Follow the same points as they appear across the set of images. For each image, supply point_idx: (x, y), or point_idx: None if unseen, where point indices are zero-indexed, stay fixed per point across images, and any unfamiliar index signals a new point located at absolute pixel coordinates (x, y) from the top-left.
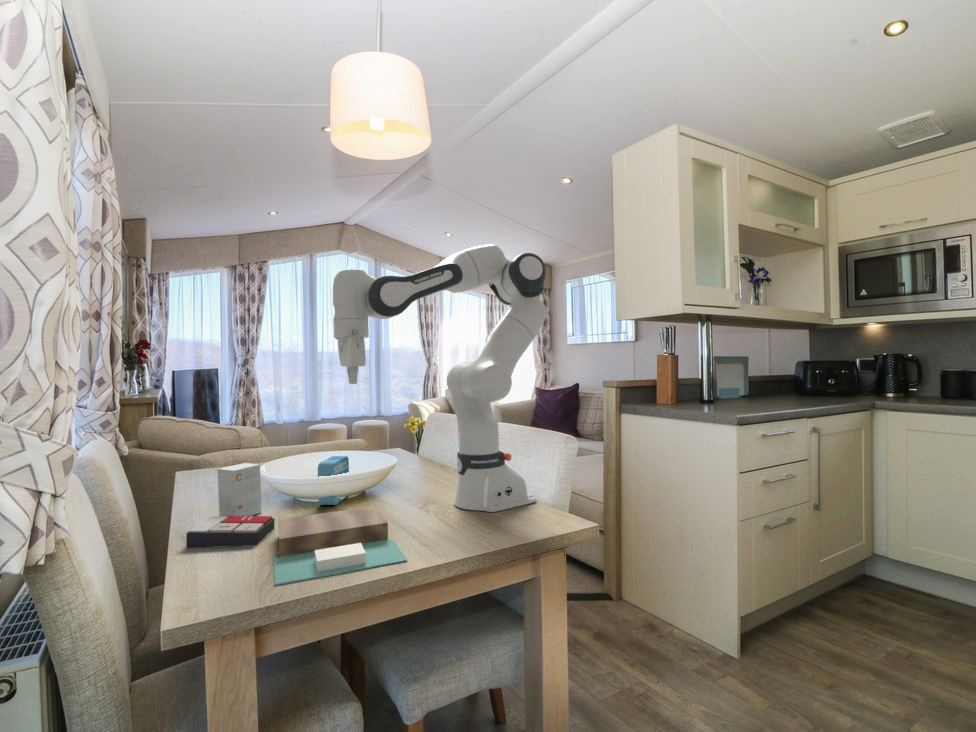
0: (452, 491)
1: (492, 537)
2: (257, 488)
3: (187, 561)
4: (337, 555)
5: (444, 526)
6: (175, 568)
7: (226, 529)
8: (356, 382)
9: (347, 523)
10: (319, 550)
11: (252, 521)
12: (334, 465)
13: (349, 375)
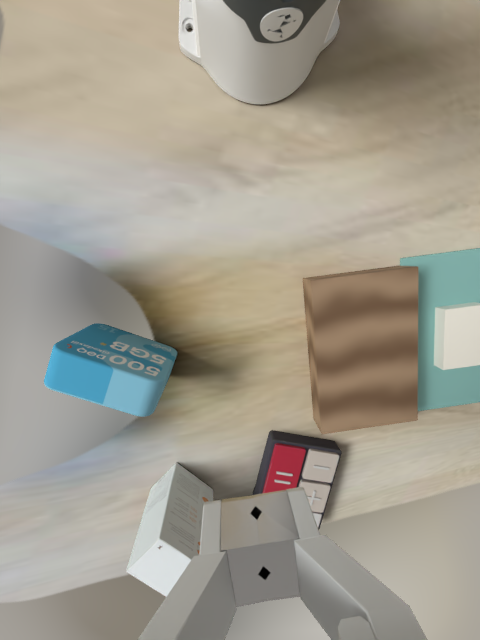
0: (132, 76)
1: (464, 87)
2: (174, 500)
3: (360, 503)
4: (477, 340)
5: (374, 159)
6: (377, 509)
7: (327, 492)
8: (305, 495)
9: (392, 331)
10: (447, 363)
11: (298, 467)
12: (155, 378)
13: (226, 623)
